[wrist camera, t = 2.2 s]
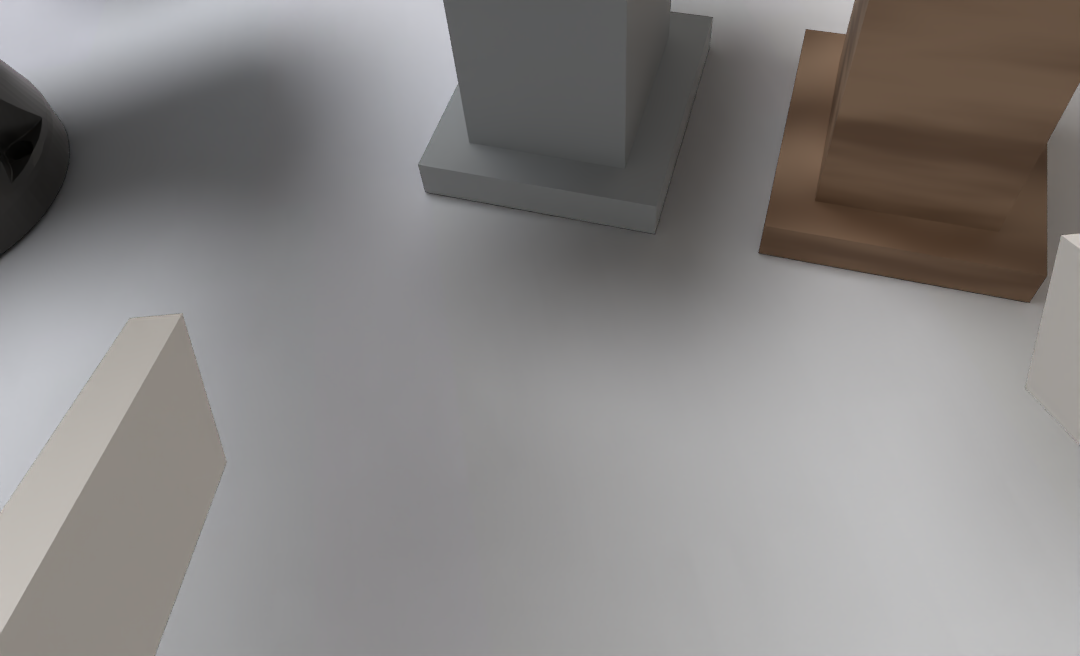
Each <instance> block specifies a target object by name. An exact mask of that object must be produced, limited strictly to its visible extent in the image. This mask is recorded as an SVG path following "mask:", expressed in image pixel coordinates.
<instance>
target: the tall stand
mask: <svg viewBox="0 0 1080 656" xmlns="http://www.w3.org/2000/svg"><path fill="white" fill-rule="evenodd" d="M1079 83H1080V0H855V2H854V6H853V10H852V14H851V18H850V22H849V25H848V29H847V33H846V34H839V33H831V32H823V31H816V30H808V29H806V31H805V36H804V41H803V45H802V50H801V55H800V59H799V64H798V69H797V74H796V78H795V83H794V88H793V92H792V97H791V102H790V107H789V111H788V116H787V121H786V125H785V130H784V135H783V140H782V144H781V149H780V154H779V158H778V163H777V168H776V173H775V177H774V182H773V187H772V191H771V196H770V201H769V206H768V210H767V215H766V220H765V224H764V229H763V234H762V239H761V244H760V248H759V253H761V254H767V255H772V256H778V257H783V258H789V259H794V260H800V261H805V262H811V263H816V264H822V265H827V266H832V267H838V268H843V269H849V270H854V271H860V272H865V273H871V274H876V275H882V276H887V277H893V278H898V279H903V280H909V281H914V282H920V283H925V284H931V285H936V286H942V287H947V288H953V289H958V290H964V291H969V292H974V293H980V294H985V295H991V296H996V297H1002V298H1007V299H1013V300H1018V301H1024V302H1029V303H1030V301H1031V299H1032V298H1033V296H1034V295H1035V293H1036V292H1037V290H1038V289H1039V287H1040V286H1041V284H1042V283H1043V281H1044V279H1045V278H1046V276H1047V142H1048V140H1049V138H1050V136H1051V134H1052V133H1053V131H1054V129H1055V127H1056V125H1057V123H1058V121H1059V120H1060V118H1061V116H1062V114H1063V112H1064V110H1065V109H1066V107H1067V105H1068V103H1069V101H1070V99H1071V97H1072V96H1073V94H1074V92H1075V90H1076V88H1077V86H1078V85H1079Z"/></svg>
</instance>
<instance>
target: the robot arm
mask: <svg viewBox="0 0 1080 656" xmlns="http://www.w3.org/2000/svg"><path fill="white" fill-rule="evenodd" d="M68 163H69V141H68V137H67V134H66V131H65V129H64V127H63V125H62V123H61V121H60V120H59V118H58V117H57V116H56V114H55V113H54V111H53V110H52V108H51V107H50V105H49V104H48V102H47V101H46V99H45V98H44V96H43V95H42V94H41V93H40V91H39V90H38V89H37V88H36V87H35V86H34V85H33V84H32V83H31V82H30V81H29V80H27V79H26V78H25V77H23V76H22V75H21V74H19V73H18V72H17V71H15V70H14V69H13V68H11V67H10V66H9V65H7V64H6V63H5V62H3V61H2V60H1V59H0V254H2V253H3V252H5V251H6V250H7V249H9V248H10V247H11V246H12V245H14V244H15V243H16V242H17V241H18V240H19V239H21V238H22V237H23V236H24V235H25V234H26V233H27V232H28V231H29V230H30V229H31V228H32V227H33V226H34V225H35V224H36V223H37V222H38V221H39V219H40V218H41V217H42V216H43V214H44V213H45V212H46V211H47V209H48V208H49V206H50V205H51V204H52V202H53V200H54V199H55V197H56V196H57V194H58V192H59V190H60V188H61V186H62V183H63V181H64V178H65V175H66V172H67V168H68ZM1025 389H1026V390H1027V391H1028V392H1029V393H1030V394H1031V395H1032V396H1033V397H1034V398H1035V399H1036V400H1037V401H1038V402H1039V403H1040V404H1041V406H1042V407H1043V408H1044V409H1045V410H1046V411H1047V412H1048V413H1049V414H1050V415H1051V416H1052V417H1053V418H1054V419H1055V420H1056V421H1057V422H1058V423H1059V424H1060V426H1061V427H1062V428H1063V429H1064V430H1065V431H1066V432H1067V433H1068V434H1069V435H1070V436H1071V437H1072V438H1073V439H1074V440H1075V441H1076V442H1077V443H1078V444H1079V446H1080V234H1069V235H1061V238H1060V242H1059V246H1058V250H1057V255H1056V259H1055V263H1054V267H1053V272H1052V276H1051V280H1050V284H1049V288H1048V293H1047V297H1046V301H1045V305H1044V309H1043V314H1042V318H1041V322H1040V326H1039V330H1038V335H1037V339H1036V343H1035V347H1034V352H1033V356H1032V360H1031V364H1030V368H1029V373H1028V377H1027V381H1026V385H1025ZM226 463H227V461H226V458H225V454H224V451H223V448H222V444H221V441H220V438H219V434H218V431H217V428H216V424H215V421H214V418H213V414H212V411H211V408H210V404H209V401H208V398H207V394H206V391H205V388H204V384H203V381H202V378H201V374H200V371H199V368H198V364H197V361H196V357H195V354H194V351H193V347H192V344H191V341H190V337H189V334H188V331H187V327H186V324H185V321H184V317H183V314H170V315H159V316H148V317H137V318H130V319H129V320H128V322H127V323H126V325H125V326H124V328H123V329H122V331H121V332H120V334H119V335H118V337H117V338H116V340H115V341H114V343H113V344H112V346H111V347H110V349H109V350H108V352H107V353H106V355H105V356H104V358H103V359H102V361H101V362H100V364H99V365H98V367H97V368H96V370H95V371H94V373H93V374H92V376H91V377H90V379H89V380H88V382H87V383H86V385H85V386H84V388H83V389H82V391H81V392H80V394H79V395H78V397H77V398H76V400H75V401H74V403H73V404H72V406H71V407H70V409H69V410H68V412H67V413H66V415H65V416H64V418H63V419H62V421H61V422H60V424H59V425H58V427H57V428H56V430H55V431H54V433H53V434H52V436H51V437H50V439H49V440H48V442H47V443H46V445H45V446H44V448H43V449H42V451H41V452H40V454H39V455H38V457H37V458H36V460H35V461H34V463H33V464H32V466H31V467H30V469H29V470H28V472H27V473H26V475H25V476H24V478H23V479H22V481H21V483H20V484H19V486H18V487H17V489H16V490H15V492H14V493H13V495H12V496H11V498H10V499H9V501H8V502H7V504H6V505H5V507H4V508H3V510H2V511H1V513H0V656H155V654H156V651H157V649H158V646H159V643H160V641H161V638H162V635H163V633H164V630H165V627H166V624H167V622H168V619H169V616H170V614H171V611H172V608H173V606H174V603H175V600H176V598H177V595H178V592H179V589H180V587H181V584H182V581H183V579H184V576H185V573H186V571H187V568H188V565H189V563H190V560H191V557H192V554H193V552H194V549H195V546H196V544H197V541H198V538H199V536H200V533H201V530H202V528H203V525H204V522H205V520H206V517H207V514H208V511H209V509H210V506H211V503H212V501H213V498H214V495H215V493H216V490H217V487H218V485H219V482H220V479H221V476H222V474H223V471H224V468H225V466H226Z"/></svg>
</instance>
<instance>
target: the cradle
mask: <svg viewBox="0 0 1080 656" xmlns="http://www.w3.org/2000/svg"><path fill="white" fill-rule="evenodd" d="M443 2H444V7H445V12H446V18H447V23H448V29H449V34H450V40H451V45H452V51H453V56H454V62H455V67H456V73H457V78H458V85H457V87H456V89H455V91H454V93H453V95H452V97H451V99H450V101H449V103H448V105H447V107H446V109H445V111H444V113H443V115H442V117H441V119H440V121H439V123H438V125H437V128H436V130H435V132H434V134H433V136H432V138H431V140H430V142H429V144H428V146H427V148H426V150H425V152H424V154H423V156H422V158H421V160H420V162H419V164H418V166H419V170H420V174H421V178H422V182H423V186H424V190H425V192H428V193H434V194H439V195H445V196H450V197H455V198H461V199H466V200H472V201H477V202H483V203H488V204H494V205H499V206H505V207H510V208H516V209H521V210H526V211H532V212H537V213H543V214H548V215H554V216H559V217H565V218H570V219H576V220H581V221H587V222H592V223H597V224H603V225H608V226H614V227H619V228H625V229H630V230H636V231H641V232H647V233H652V234H655V232H656V228H657V225H658V222H659V218H660V215H661V211H662V208H663V204H664V201H665V198H666V194H667V191H668V187H669V184H670V181H671V177H672V174H673V170H674V167H675V163H676V160H677V157H678V153H679V150H680V146H681V143H682V139H683V136H684V133H685V129H686V126H687V122H688V119H689V116H690V112H691V109H692V105H693V102H694V98H695V95H696V92H697V88H698V85H699V81H700V78H701V75H702V71H703V68H704V64H705V61H706V57H707V54H708V51H709V47H710V38H711V29H712V20H713V17H708V16H700V15H692V14H685V13H677V12H670V8H671V0H443Z"/></svg>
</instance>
